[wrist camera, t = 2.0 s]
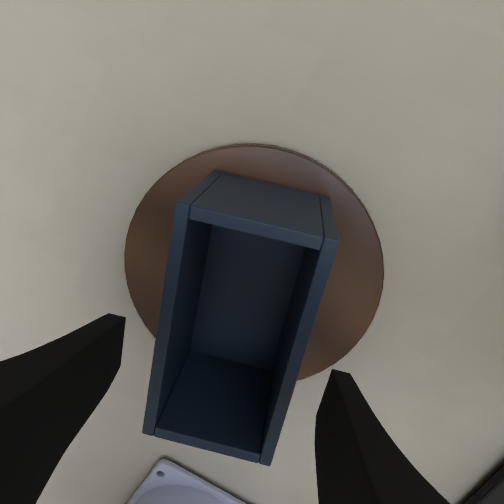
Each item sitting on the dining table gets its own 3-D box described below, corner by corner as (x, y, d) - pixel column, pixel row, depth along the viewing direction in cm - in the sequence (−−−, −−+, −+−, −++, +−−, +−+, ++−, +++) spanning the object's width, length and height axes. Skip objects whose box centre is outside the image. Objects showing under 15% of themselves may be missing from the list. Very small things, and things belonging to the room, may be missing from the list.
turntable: (286, 414, 25) (286, 424, 24) (92, 299, 24) (85, 305, 23) (438, 241, 20) (443, 246, 19) (204, 86, 19) (200, 85, 18)
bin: (274, 391, 23) (263, 487, 18) (178, 367, 23) (138, 454, 18) (330, 196, 19) (340, 240, 13) (213, 169, 19) (174, 201, 14)
